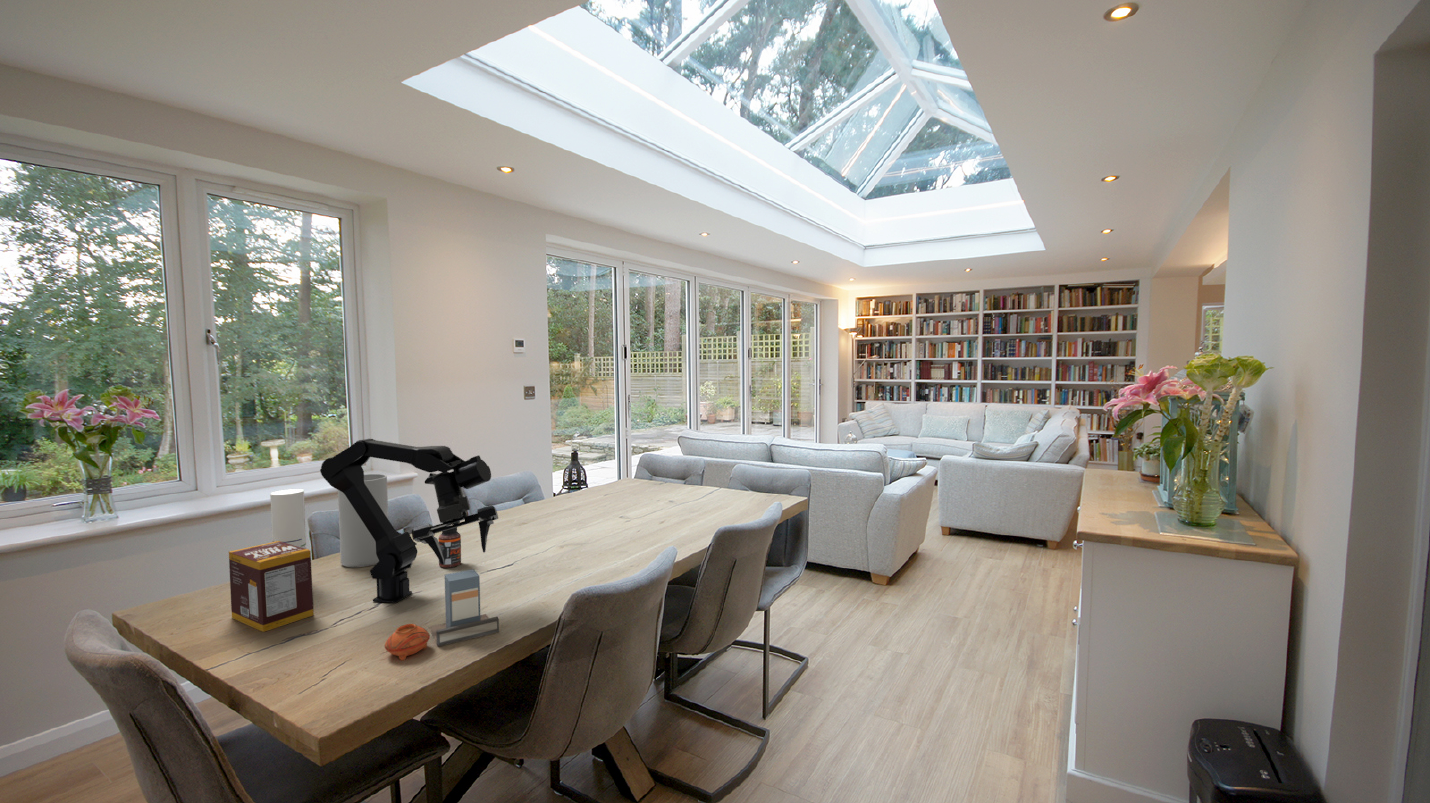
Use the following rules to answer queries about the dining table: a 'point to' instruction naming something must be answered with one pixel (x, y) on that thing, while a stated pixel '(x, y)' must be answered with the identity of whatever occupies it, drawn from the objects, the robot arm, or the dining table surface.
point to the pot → (407, 640)
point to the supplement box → (271, 585)
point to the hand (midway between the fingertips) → (464, 558)
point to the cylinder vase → (360, 525)
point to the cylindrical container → (288, 517)
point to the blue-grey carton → (462, 598)
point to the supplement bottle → (450, 547)
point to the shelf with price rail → (464, 630)
